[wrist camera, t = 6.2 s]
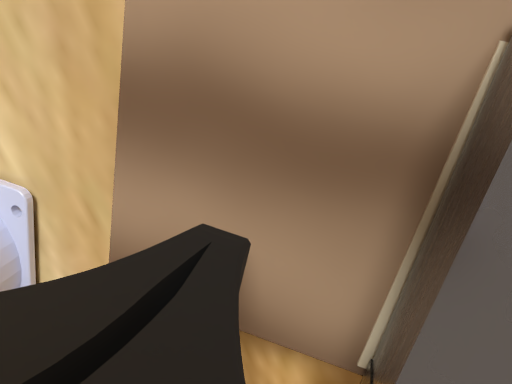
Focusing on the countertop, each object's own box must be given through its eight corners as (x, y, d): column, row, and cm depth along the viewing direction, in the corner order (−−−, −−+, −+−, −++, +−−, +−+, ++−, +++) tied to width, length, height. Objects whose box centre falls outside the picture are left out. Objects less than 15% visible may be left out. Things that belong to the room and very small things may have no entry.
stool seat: (447, 352, 14) (461, 414, 12) (144, 246, 16) (105, 282, 14) (658, -20, 9) (751, -35, 7) (182, -112, 11) (131, -147, 9)
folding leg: (527, -12, 8) (588, -27, 6) (672, 15, 7) (799, 10, 5) (358, 386, 13) (355, 464, 10) (441, 416, 12) (456, 504, 10)
